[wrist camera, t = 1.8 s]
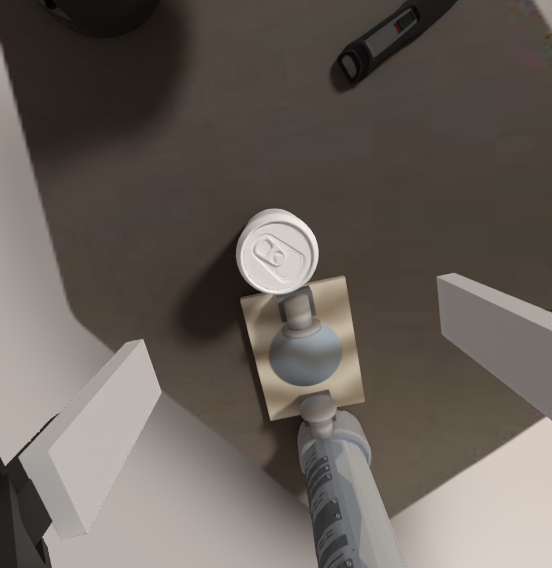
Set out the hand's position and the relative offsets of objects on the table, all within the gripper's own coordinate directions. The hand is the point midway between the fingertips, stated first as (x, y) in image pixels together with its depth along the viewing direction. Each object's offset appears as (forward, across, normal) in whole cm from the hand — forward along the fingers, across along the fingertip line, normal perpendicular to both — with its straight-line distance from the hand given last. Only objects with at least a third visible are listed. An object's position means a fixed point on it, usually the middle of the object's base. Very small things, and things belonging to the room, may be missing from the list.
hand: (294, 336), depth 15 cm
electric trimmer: (+29, +18, +21) cm, 40 cm away
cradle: (+29, +1, -16) cm, 33 cm away
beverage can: (+29, 0, 0) cm, 29 cm away
